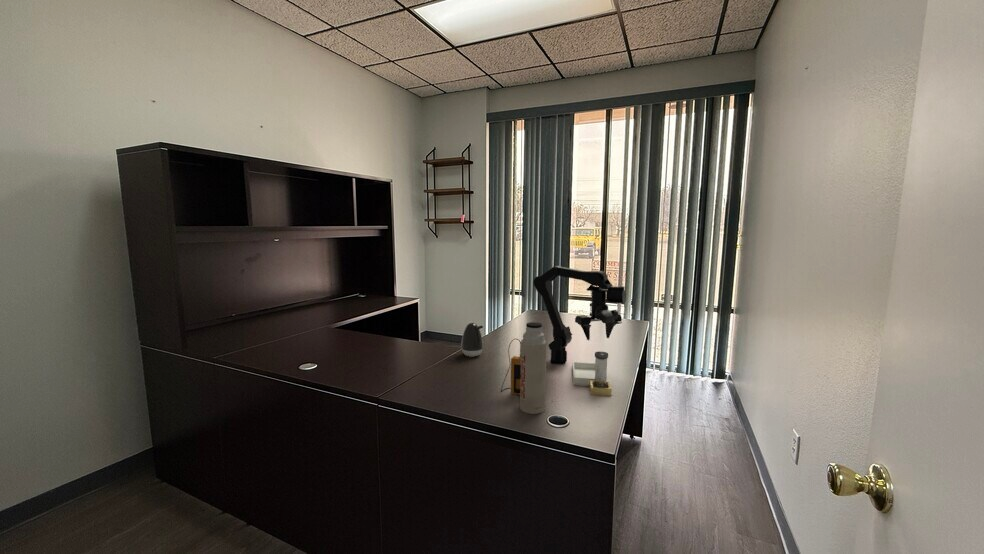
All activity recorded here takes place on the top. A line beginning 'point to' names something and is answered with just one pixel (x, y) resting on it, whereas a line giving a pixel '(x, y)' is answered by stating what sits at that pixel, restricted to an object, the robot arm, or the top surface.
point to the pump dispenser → (472, 340)
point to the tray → (583, 373)
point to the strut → (600, 369)
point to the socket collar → (600, 389)
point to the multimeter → (515, 373)
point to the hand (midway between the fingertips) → (598, 339)
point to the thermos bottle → (533, 369)
